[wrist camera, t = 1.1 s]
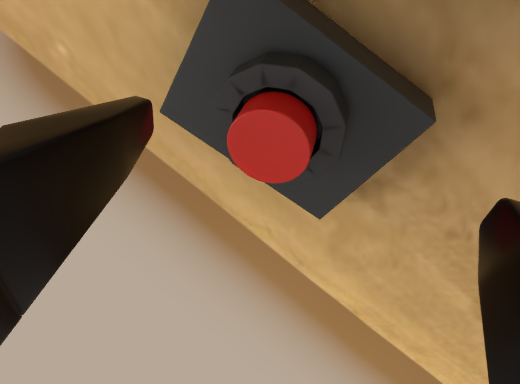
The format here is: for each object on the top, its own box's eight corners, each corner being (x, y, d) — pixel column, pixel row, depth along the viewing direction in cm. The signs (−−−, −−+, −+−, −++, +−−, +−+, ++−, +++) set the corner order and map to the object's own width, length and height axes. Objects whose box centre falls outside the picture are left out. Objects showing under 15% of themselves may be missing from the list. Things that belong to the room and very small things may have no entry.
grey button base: (432, 98, 21) (440, 139, 18) (325, 195, 27) (315, 238, 24) (245, -49, 19) (213, -35, 16) (177, 94, 25) (144, 125, 22)
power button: (334, 124, 19) (328, 145, 17) (287, 174, 22) (279, 197, 20) (264, 73, 18) (252, 91, 17) (226, 132, 21) (212, 152, 20)
